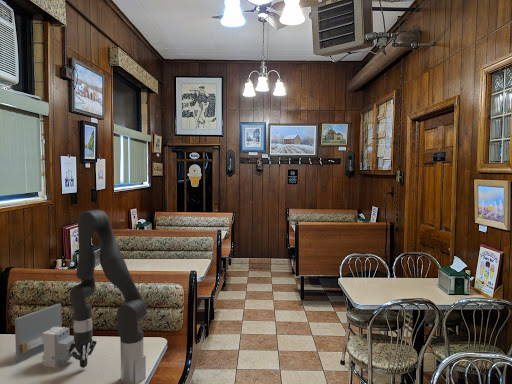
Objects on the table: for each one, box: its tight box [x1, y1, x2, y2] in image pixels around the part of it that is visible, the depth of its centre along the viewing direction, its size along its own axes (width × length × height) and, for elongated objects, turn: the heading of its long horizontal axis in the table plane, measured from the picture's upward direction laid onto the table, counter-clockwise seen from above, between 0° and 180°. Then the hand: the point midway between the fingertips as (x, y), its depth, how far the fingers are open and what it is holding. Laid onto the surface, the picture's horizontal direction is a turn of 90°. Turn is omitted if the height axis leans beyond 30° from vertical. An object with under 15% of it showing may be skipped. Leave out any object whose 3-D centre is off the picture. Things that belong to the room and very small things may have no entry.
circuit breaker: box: [41, 326, 78, 369], centre depth 168 cm, size 8×14×15 cm, turn 78°
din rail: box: [21, 335, 44, 353], centre depth 178 cm, size 2×20×4 cm, turn 155°
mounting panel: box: [14, 303, 63, 363], centre depth 179 cm, size 2×22×20 cm, turn 155°
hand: (83, 366), depth 163 cm, fingers closed
